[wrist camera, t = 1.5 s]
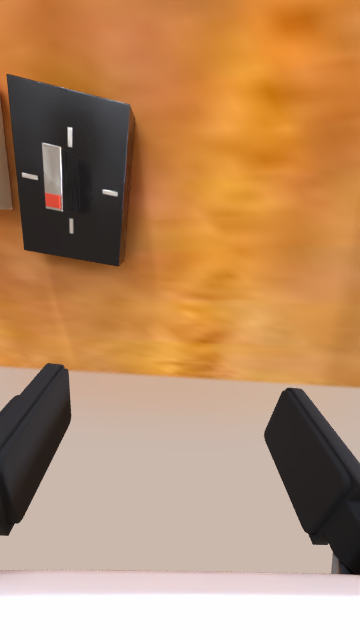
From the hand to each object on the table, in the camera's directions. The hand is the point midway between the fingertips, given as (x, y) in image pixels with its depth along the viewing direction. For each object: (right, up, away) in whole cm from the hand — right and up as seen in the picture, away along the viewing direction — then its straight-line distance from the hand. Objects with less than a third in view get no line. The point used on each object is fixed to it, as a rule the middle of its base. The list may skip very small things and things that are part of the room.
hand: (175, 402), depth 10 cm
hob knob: (-10, +17, +12) cm, 23 cm away
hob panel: (-10, +18, +14) cm, 25 cm away
